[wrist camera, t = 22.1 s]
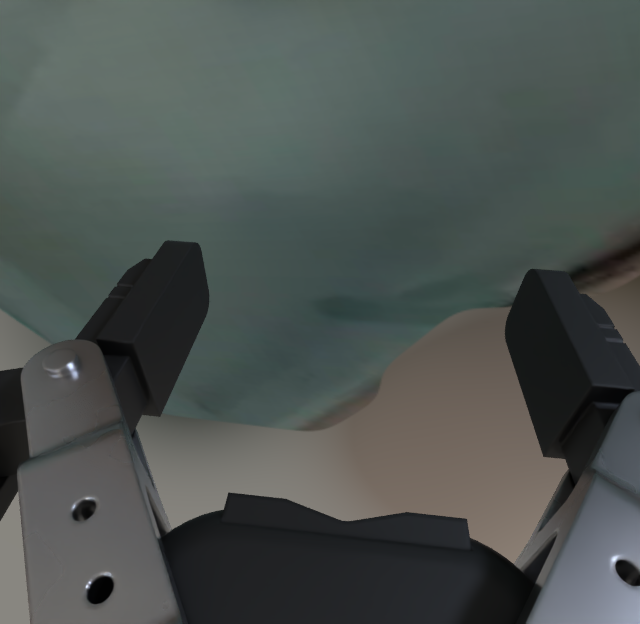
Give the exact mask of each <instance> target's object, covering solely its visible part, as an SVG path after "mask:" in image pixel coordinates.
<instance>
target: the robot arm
mask: <svg viewBox="0 0 640 624" xmlns="http://www.w3.org/2000/svg"><path fill="white" fill-rule="evenodd" d="M108 296H109V298H106V299H105V300H104V302H103V303H102V304H101V306H100V307H99V308H98V310H97V311H96V312H95V314H94V315H93V316H92V318H91V319H90V320H89V322H88V323H87V324H86V325H85V327H84V328H83V329H82V331H81V332H80V333H79V335H78V336H77V337H76V339H75V340H67V341H62V342H59V343H56V344H53V345H50V346H49V347H47V348H45V349H43V350H41V351H40V352H38V353H37V354H35V355H34V356H33V357H32V358H31V359H30V360H29V361H28V362H27V363H26V365H25V366H24V368H18V369H11V370H4V371H0V521H1V519H2V517H3V516H4V514H5V512H6V510H7V509H8V507H9V505H10V504H11V502H12V500H13V499H14V497H15V495H16V493H17V492H19V503H20V514H21V524H22V536H23V547H24V557H25V569H26V579H27V591H28V602H29V613H30V624H640V366H639V364H638V363H637V361H636V359H635V358H634V356H633V355H632V353H631V351H630V350H629V348H628V347H627V345H626V343H623V339H622V337H621V335H620V334H619V332H618V331H617V329H614V327H615V326H614V324H613V323H612V321H611V319H610V318H609V316H608V315H607V313H606V311H605V310H604V309H603V308H602V307H601V306H600V305H598V304H597V303H596V302H595V301H593V300H592V299H591V298H590V297H589V296H588V295H586V294H579V292H578V290H577V288H576V287H575V285H574V283H573V282H572V280H571V278H570V276H569V275H568V274H567V273H566V272H564V271H552V270H539V269H530V270H529V271H528V272H527V273H526V275H525V277H524V279H523V281H522V284H521V286H520V288H519V291H518V293H517V296H516V298H515V300H514V303H513V305H512V308H511V310H510V313H509V315H508V317H507V321H506V327H505V339H506V343H507V346H508V349H509V352H510V355H511V358H512V362H513V365H514V368H515V371H516V374H517V377H518V380H519V383H520V386H521V389H522V392H523V395H524V398H525V401H526V404H527V407H528V410H529V414H530V416H531V420H532V423H533V426H534V429H535V432H536V435H537V438H538V441H539V444H540V447H541V450H542V453H543V457H551V458H562V459H566V462H567V465H568V468H569V469H568V471H567V472H566V473H565V474H564V476H563V477H562V479H561V481H560V483H559V485H558V487H557V489H556V491H555V493H554V494H553V497H552V499H551V500H550V502H549V504H548V506H547V508H546V510H545V512H544V514H543V516H542V517H541V519H540V521H539V523H538V525H537V527H536V529H535V531H534V532H533V534H532V536H531V538H530V540H529V541H528V543H527V545H526V547H525V548H524V550H523V551H522V553H521V554H520V556H519V557H518V558H517V560H516V562H515V563H514V564H513V563H511V562H510V561H509V560H508V559H507V558H505V557H504V556H502V555H501V554H499V553H498V552H496V551H494V550H493V549H492V548H490V547H488V546H485V545H484V544H482V543H480V542H478V541H476V540H473V539H471V538H470V537H469V530H468V523H467V519H462V518H453V517H445V516H436V515H426V514H418V513H409V512H405V513H399V514H393V515H387V516H381V517H374V518H368V519H361V520H355V521H341V520H338V519H336V518H333V517H330V516H328V515H325V514H323V513H320V512H318V511H315V510H313V509H310V508H307V507H305V506H302V505H300V504H297V503H295V502H292V501H290V500H287V499H282V498H273V497H264V496H254V495H245V494H236V493H228V497H227V501H226V504H225V508H224V510H220V511H215V512H211V513H208V514H204V515H201V516H199V517H196V518H194V519H192V520H189V521H187V522H185V523H183V524H182V525H180V526H178V527H176V528H174V529H173V530H172V528H171V526H170V523H169V521H168V518H167V515H166V513H165V510H164V508H163V505H162V503H161V500H160V497H159V494H158V491H157V488H156V485H155V483H154V480H153V477H152V474H151V471H150V468H149V465H148V462H147V459H146V456H145V453H144V450H143V447H142V444H141V441H140V438H139V435H138V432H137V430H136V426H137V423H138V422H139V420H140V418H141V416H142V415H149V416H159V417H160V416H161V414H162V411H163V409H164V407H165V405H166V403H167V400H168V398H169V396H170V394H171V392H172V390H173V387H174V385H175V383H176V381H177V379H178V376H179V374H180V372H181V370H182V368H183V365H184V363H185V361H186V359H187V357H188V354H189V352H190V350H191V348H192V346H193V343H194V341H195V339H196V337H197V335H198V333H199V330H200V328H201V326H202V324H203V322H204V319H205V317H206V315H207V312H208V307H209V289H208V284H207V279H206V273H205V268H204V262H203V257H202V252H201V248H200V246H199V244H198V243H195V242H182V241H169V240H168V241H165V242H164V243H163V245H162V246H161V247H160V249H159V250H158V252H157V253H156V255H155V256H154V257H153V259H144V260H142V261H141V262H139V263H138V264H136V265H135V266H133V267H131V268H130V269H128V270H127V272H126V273H125V274H124V275H123V277H122V278H121V279H120V281H119V282H118V283H117V287H114V289H113V290H112V291H111V293H110V294H109V295H108Z"/></svg>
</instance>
